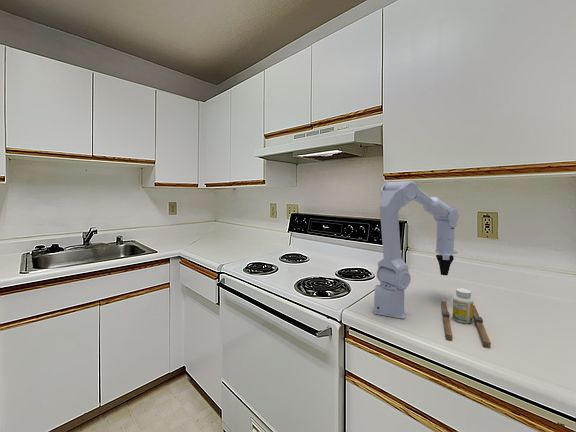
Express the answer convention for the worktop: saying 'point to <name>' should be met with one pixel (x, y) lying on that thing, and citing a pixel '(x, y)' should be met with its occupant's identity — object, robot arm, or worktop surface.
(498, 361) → the worktop surface
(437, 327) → the worktop surface
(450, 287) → the worktop surface
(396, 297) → the robot arm
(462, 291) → the supplement bottle
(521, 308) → the worktop surface
